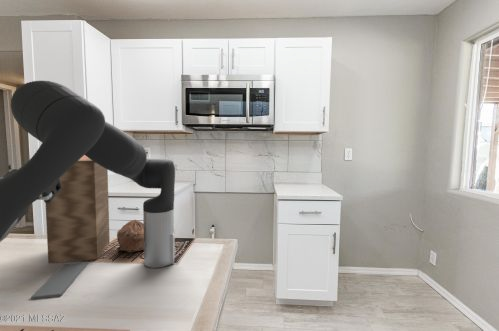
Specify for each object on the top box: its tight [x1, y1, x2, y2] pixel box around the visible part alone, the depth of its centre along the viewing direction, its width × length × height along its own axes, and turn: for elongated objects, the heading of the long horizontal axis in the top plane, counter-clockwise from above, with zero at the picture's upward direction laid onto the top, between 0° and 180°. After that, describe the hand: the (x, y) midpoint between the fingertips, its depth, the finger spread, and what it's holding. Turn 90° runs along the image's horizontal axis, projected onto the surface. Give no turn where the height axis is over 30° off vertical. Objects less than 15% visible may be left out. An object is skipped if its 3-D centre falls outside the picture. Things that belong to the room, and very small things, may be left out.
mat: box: [30, 261, 89, 300], centre depth 73 cm, size 6×18×1 cm, turn 13°
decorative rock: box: [116, 219, 144, 254], centre depth 94 cm, size 13×11×10 cm
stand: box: [45, 159, 111, 264], centre depth 89 cm, size 15×15×32 cm
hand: (37, 172), depth 63 cm, fingers open, 8 cm apart
